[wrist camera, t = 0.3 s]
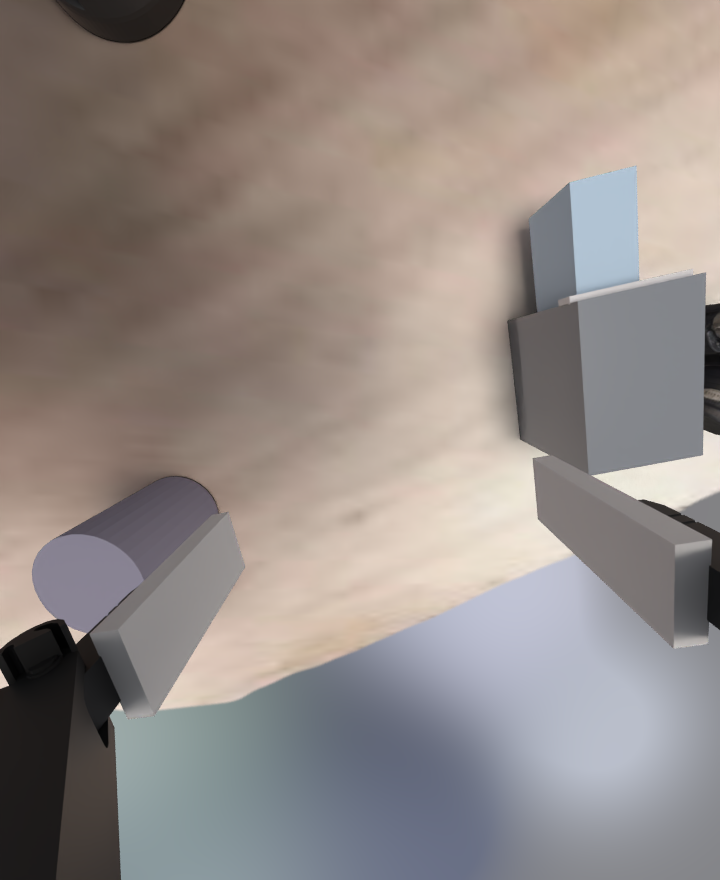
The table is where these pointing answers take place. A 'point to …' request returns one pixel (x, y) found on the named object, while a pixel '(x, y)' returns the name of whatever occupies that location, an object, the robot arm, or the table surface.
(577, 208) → the tall blue-grey block
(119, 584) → the container
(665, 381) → the dispenser
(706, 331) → the camera
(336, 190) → the table surface
